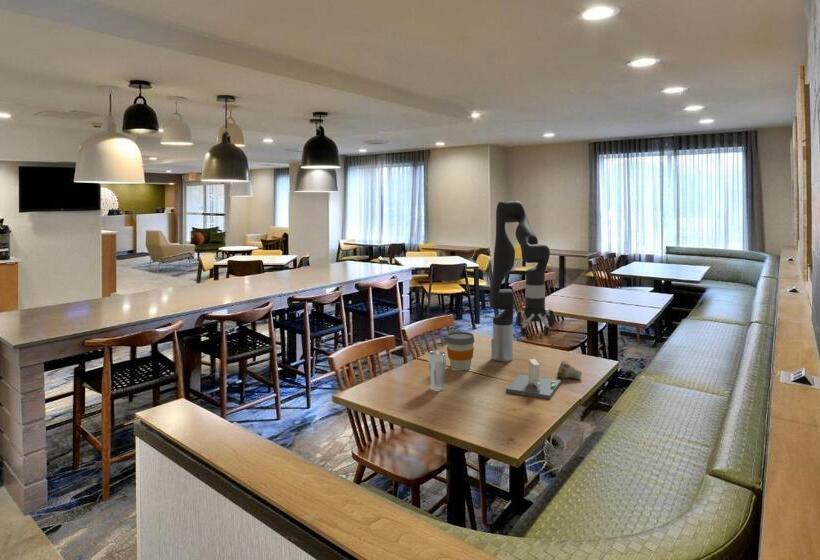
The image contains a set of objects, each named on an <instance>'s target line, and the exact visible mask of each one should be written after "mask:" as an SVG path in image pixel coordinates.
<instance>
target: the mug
mask: <svg viewBox="0 0 820 560" xmlns="http://www.w3.org/2000/svg"><path fill="white" fill-rule="evenodd" d="M559 365H560V366H559V367H558V370H557V374H556V376H557V377H558V378H561V379H575V380H580V379H581V378H582V376H583V372H582V371H581V370H580V369H578V368H576V367H574V366H573V365H572V364H571V363H569V362H567V361H566V360H561V362H560V364H559Z"/></svg>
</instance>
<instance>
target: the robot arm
mask: <svg viewBox="0 0 820 560" xmlns="http://www.w3.org/2000/svg"><path fill="white" fill-rule="evenodd" d="M495 211H496V212H495V242H494V250H493V251H494V252H493V262H492V263H493V266H492V277H491V287H490V292H489V299H488V301H489V306H490V308H491V309H492V310H503V311H502V312H499V314H496V315H494V316H493V318H492V339H491V340H490V341H491V342H490V343H491V347H490V348H491V356H490V357H491V360H494V361H497V362H509V361H512V360H513V358H514V357H513V356H514V353H513V351H514V347H513V346H514V340H513V339H514V311H515V294H514V292H513V290H512V289H510V288H502V289H501V285H502V283H503V282H504V280H505V278H507V276H508V274H509V273H510V272H511V271H512V269H513V268H514V265H515V257H516V249H515V247H514V244H513V243H512V242H511V241H512V240H511V239H510V238H509V236H508V234H507V231H506V223H518V225H517V226H516V229H515V239H516V240H517V242H518V244H519V246H520V252H521V258H522V261H524V262H525V263H527V264H536V263H537V264H536V265H535V266H534V267H533V268H532V267H531V268H529V269H527V270H526V271H525V289H524V290H525V291H524V297H525V298H524V310H519V309H518V310H516V315H515V316H516V318H515V324H516V326H517V327H518V328H519V327H520V335H521V336H522V338H525V337H526V326H527V325H528V324H529V323H530V322H531V323H533V322H542V324H543V336H544V337H547V336H548V335H549V333H550V330H549V329H550V327H551V326H554V325H555V322H554V310H552V309H547V310H546V287H545V284H546V283H545V280H546V279H545V276H546V270H547V267H548V263H549V259H550V256H551V252H550V247H548V245H547V244H545V243H539V240H538V238H537V236H536V234H535V233H534V230H533V229H532V227H531V224H530V222H529V219H528V216H527V213H526V210H525V207H524V205H523V203H522V202H521V201H519V200H507V201H506V200H505V201H502V200H501V201H499V202H498V203H497V205H496V210H495ZM523 315H524V316H525V317H524V319H523V320H522V317H523ZM545 315H547V316H548V321H547V320H546V319H545V318H544V317H545Z"/></svg>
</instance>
